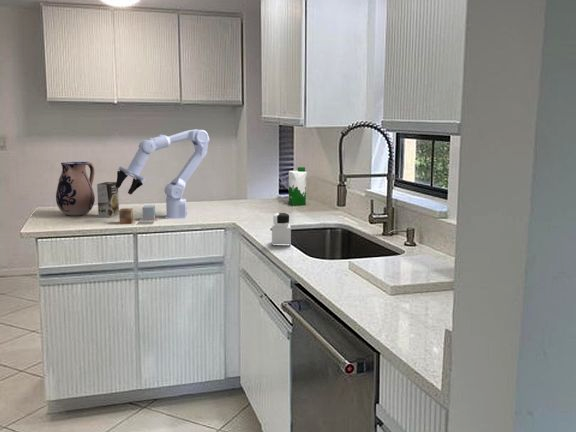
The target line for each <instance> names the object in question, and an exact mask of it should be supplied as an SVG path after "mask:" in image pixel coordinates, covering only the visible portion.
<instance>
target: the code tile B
mask: <svg viewBox="0 0 576 432" xmlns="http://www.w3.org/2000/svg"><path fill="white" fill-rule="evenodd" d="M158 220H159V217H155V219H154V220H143V217H141V218H140V219H139V221H154V222H157V221H158Z"/></svg>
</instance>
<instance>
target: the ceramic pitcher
mask: <svg viewBox="0 0 576 432" xmlns="http://www.w3.org/2000/svg"><path fill="white" fill-rule="evenodd" d="M60 165H61V168H62V169H61V174H60V176H59V179H58V183H57V188H56V192H55V201H56V205H57V208H58V209H59V210H60V211H61V213H63V214H65V215H66V216H74V217H76V216H79V217H80V216H85V215H86V214H87V213H89V212H90V211H91V210H92V208H94V205H95V201H96V198H95V197H96V196H95V192H94V188H93V183H94V179H95V167H94V165H93V163H92V162H90V161H69V162H64V161H63V162H61V163H60ZM86 166H88V168H89V172H90V173H89V176H88V173H87V169H86Z"/></svg>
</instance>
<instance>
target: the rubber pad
mask: <svg viewBox="0 0 576 432" xmlns="http://www.w3.org/2000/svg"><path fill="white" fill-rule="evenodd" d="M154 223H155V221H140V220H139V221H138V222H136V223H135V224H136V226H138V225H144V226H145V225H153V224H154Z"/></svg>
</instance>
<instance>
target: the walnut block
mask: <svg viewBox="0 0 576 432" xmlns="http://www.w3.org/2000/svg"><path fill="white" fill-rule="evenodd" d="M133 215H134V210H133V207H132V208H131V207H130V208H119V215H118V216H119V221H120V224H126V225H132V224H131V223H132V222H133V221H134V216H133Z"/></svg>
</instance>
